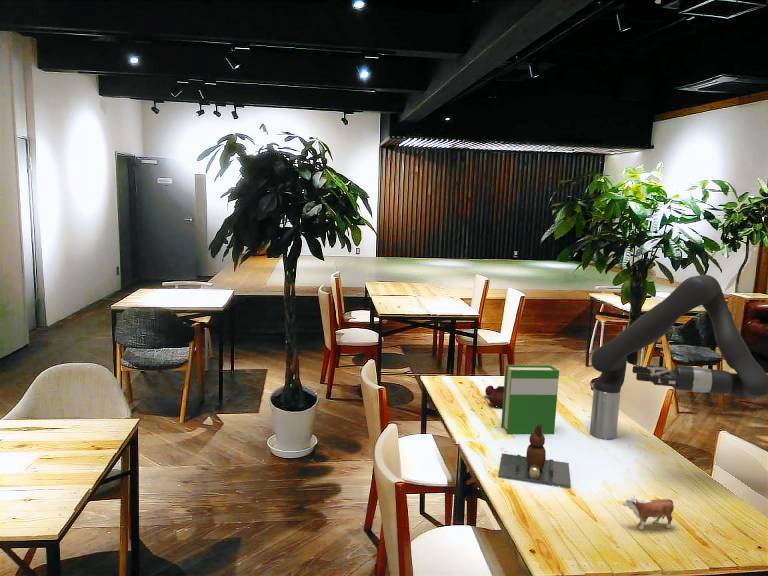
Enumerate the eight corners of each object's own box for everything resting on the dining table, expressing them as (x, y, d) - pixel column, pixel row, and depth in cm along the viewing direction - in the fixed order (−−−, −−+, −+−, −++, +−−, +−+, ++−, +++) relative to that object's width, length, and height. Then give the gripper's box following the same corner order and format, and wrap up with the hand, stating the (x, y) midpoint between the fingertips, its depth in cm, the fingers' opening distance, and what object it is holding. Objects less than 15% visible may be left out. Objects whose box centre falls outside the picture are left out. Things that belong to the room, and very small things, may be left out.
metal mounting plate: (501, 456, 190) (502, 444, 189) (568, 465, 184) (569, 454, 184) (498, 477, 174) (499, 464, 174) (570, 488, 169) (571, 475, 168)
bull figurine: (618, 521, 151) (621, 492, 150) (667, 521, 152) (670, 492, 151) (627, 531, 147) (630, 501, 146) (676, 530, 148) (680, 500, 147)
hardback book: (507, 434, 209) (512, 370, 206) (501, 426, 216) (505, 364, 213) (554, 434, 211) (559, 370, 208) (546, 426, 218) (551, 365, 215)
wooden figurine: (545, 474, 175) (549, 427, 173) (525, 471, 176) (529, 425, 174) (543, 464, 182) (547, 419, 180) (525, 462, 183) (528, 417, 181)
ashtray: (530, 411, 235) (530, 399, 235) (490, 409, 236) (491, 397, 235) (520, 397, 253) (521, 386, 252) (483, 395, 253) (484, 384, 253)
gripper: (688, 361, 180) (632, 355, 185) (699, 372, 167) (639, 366, 171) (685, 384, 181) (630, 378, 186) (696, 397, 168) (636, 391, 172)
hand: (634, 372), depth 178 cm, fingers open, 8 cm apart
